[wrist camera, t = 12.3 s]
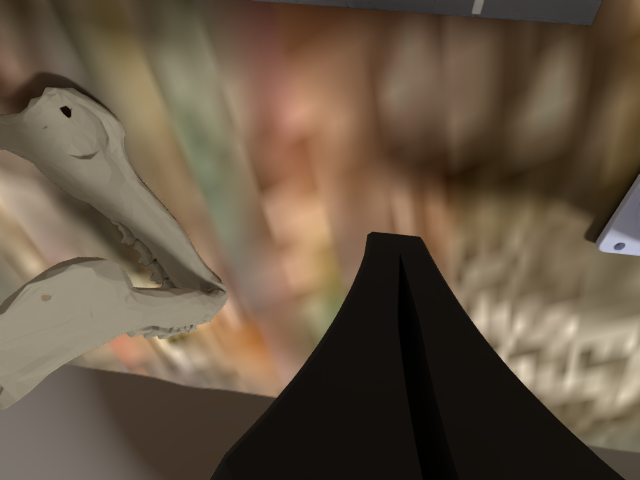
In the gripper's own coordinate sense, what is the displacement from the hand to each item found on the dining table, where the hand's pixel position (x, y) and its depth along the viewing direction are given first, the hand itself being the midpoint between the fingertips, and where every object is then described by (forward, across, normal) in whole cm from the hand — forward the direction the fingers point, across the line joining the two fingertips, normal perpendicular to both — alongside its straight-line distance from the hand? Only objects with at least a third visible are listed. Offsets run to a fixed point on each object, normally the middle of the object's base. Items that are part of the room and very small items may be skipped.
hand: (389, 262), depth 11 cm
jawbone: (+10, +12, +7) cm, 17 cm away
